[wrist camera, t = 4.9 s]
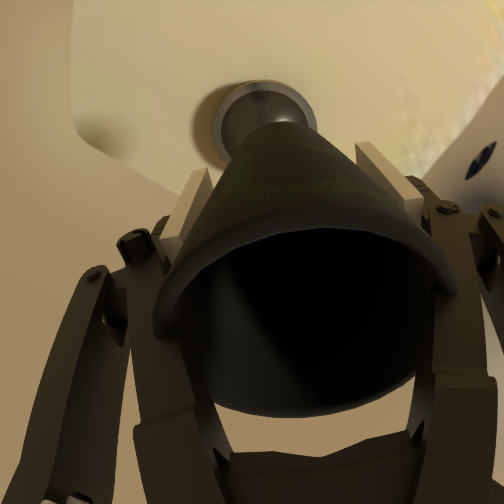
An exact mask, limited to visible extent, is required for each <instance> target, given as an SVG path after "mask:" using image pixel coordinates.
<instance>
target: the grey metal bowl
mask: <svg viewBox="0 0 504 504" xmlns="http://www.w3.org/2000/svg"><path fill="white" fill-rule="evenodd" d="M279 121H289V122H297V123H300V124H303V125H305V126H308V127H310V128H311V129H313V130H314V131H316V132H317V123H316V118H315V116H314V113H313V111H312V109H311V107H310V105H309V104H308V103H307V101H306V100H305V99H304V98H303V97H302V96H301V95H300V94H299V93H298V92H297V91H296V90H295V89H293V88H292V87H290V86H288V85H286V84H284V83H282V82H278V81H274V80H255V81H251V82H247V83H245V84H242V85H240V86H239V87H237V88H235V89H234V90H233V91H231V92H230V93H229V94H228V95H227V96H226V98H225V99H224V100H223V102H222V103H221V104H220V106H219V108H218V109H217V111H216V114H215V116H214V121H213V127H212V133H213V141H214V144H215V147H216V149H217V152H218V154H219V155H220V157H221V158H222V159H223V161H224V162H225V163H226V164H227V165H228V164H229V163H230V161H231V159H232V158H233V156H234V154H235V153H236V151H237V150H238V148H239V146H240V145H241V143H242V142H243V141H244V140H245V138H246V137H247V136H248V135H249V134H250V133H252V132H253V131H255V130H256V129H257V128H259V127H261V126H264V125H266V124H269V123H272V122H279Z"/></svg>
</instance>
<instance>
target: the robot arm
mask: <svg viewBox="0 0 504 504" xmlns="http://www.w3.org/2000/svg"><path fill="white" fill-rule="evenodd" d="M355 150H356V162H357V166H358V167H359V168H360V169H362V170H363V171H364V172H365V173H366V174H367V175H368V176H369V177H370V178H372V179H373V180H374V181H375V182H376V183H377V184H378V185H379V186H380V187H381V188H382V189H383V190H385V191H386V192H387V193H388V194H389V195H390V196H391V197H392V198H393V199H394V200H395V201H396V202H397V203H398V204H399V205H400V206H401V207H402V208H403V209H404V210H405V211H406V212H407V213H408V214H409V215H410V216H411V217H412V218H413V219H414V220H415V221H416V222H417V223H418V224H419V225H420V226H421V227H422V228H423V229H424V230H425V231H426V232H427V233H428V234H429V235H430V236H431V238H432V239H433V240H434V241H435V242H436V243H437V244H438V245H439V246H440V247H441V248H442V250H443V251H444V253H445V255H446V257H447V259H448V260H449V262H450V264H451V266H452V268H453V270H454V272H455V274H456V279H457V288H458V290H457V292H456V294H453V295H447V294H444V293H442V291H441V290H440V289H439V287H438V286H437V284H436V283H435V281H434V282H433V284H432V286H431V288H430V292H429V296H428V300H427V303H426V309H425V314H424V319H423V324H422V329H421V335H420V340H419V349H418V358H417V367H416V375H415V382H414V389H413V396H412V402H411V408H410V413H409V419H408V423H407V426H406V430H404V431H400V432H396V433H392V434H388V435H383V436H379V437H374V438H370V439H365V440H363V441H361V442H359V443H356V444H354V445H352V446H349V447H347V448H344V449H342V450H339V451H337V452H335V453H332V454H329V455H327V456H323V457H311V456H302V455H295V454H288V453H281V452H275V451H268V452H243V453H234V452H233V450H232V448H231V446H230V444H229V441H228V439H227V436H226V434H225V431H224V429H223V426H222V424H221V421H220V418H219V416H218V413H217V411H216V408H215V405H214V402H213V399H212V397H211V394H210V391H209V388H208V385H207V382H206V380H205V377H204V374H203V372H202V370H201V368H200V366H199V364H198V362H197V359H196V357H195V355H194V353H193V352H192V350H191V348H190V346H189V344H188V342H187V340H186V338H185V336H184V335H183V333H182V332H181V330H180V329H179V328H178V326H177V325H176V324H175V323H173V325H172V328H171V331H170V333H169V334H168V335H166V336H165V337H163V338H156V337H155V336H154V335H153V326H152V312H153V308H154V305H155V302H156V299H157V296H158V293H159V290H160V288H161V285H162V283H163V281H164V279H165V277H166V275H167V273H168V272H169V270H170V268H171V266H172V264H173V262H174V260H175V258H176V256H177V255H178V253H179V251H180V249H181V247H182V245H183V243H184V242H185V240H186V238H187V236H188V234H189V232H190V231H191V229H192V227H193V225H194V223H195V222H196V220H197V218H198V216H199V214H200V213H201V211H202V209H203V207H204V206H205V204H206V202H207V200H208V199H209V197H210V195H211V193H212V192H213V190H214V189H213V185H212V182H211V178H210V175H209V171H208V168H203V169H199V170H194V171H193V173H192V175H191V177H190V178H189V180H188V182H187V184H186V186H185V188H184V190H183V192H182V194H181V196H180V198H179V200H178V202H177V203H176V205H175V208H174V209H173V211H172V213H171V215H169V216H164V217H163V218H162V219H161V220H160V221H158V222H157V223H156V226H155V227H154V229H153V231H152V233H151V235H150V233H149V231H148V230H147V229H144V228H142V229H136V230H133V231H131V232H128V233H126V234H125V235H124V236H123V237H121V238H120V239H119V240H118V242H117V244H116V246H117V248H118V250H119V252H120V254H121V256H122V258H123V260H124V262H125V268H123V269H120V270H118V271H115V272H113V273H110V272H109V270H108V268H107V267H106V266H104V265H98V266H95V267H92V268H90V269H88V270H87V271H86V272H85V273H84V274H83V276H82V277H81V278H80V280H79V283H78V284H77V287H76V289H75V291H74V293H73V296H72V298H71V301H70V303H69V305H68V307H67V310H66V312H65V315H64V317H63V320H62V322H61V325H60V327H59V330H58V332H57V335H56V338H55V340H54V343H53V346H52V349H51V351H50V354H49V357H48V360H47V363H46V366H45V368H44V372H43V375H42V378H41V381H40V384H39V387H38V391H37V394H36V397H35V401H34V404H33V408H32V412H31V416H30V420H29V423H28V427H27V432H26V435H25V440H24V445H23V449H22V454H21V459H20V463H19V465H18V467H17V469H16V471H15V473H14V476H13V478H12V480H11V482H10V484H9V487H8V489H7V491H6V494H5V496H4V498H3V501H2V503H1V504H112V500H113V493H114V484H115V469H116V455H117V444H118V434H119V425H120V416H121V408H122V400H123V392H124V386H125V379H126V372H127V366H128V360H129V354H130V348H131V355H132V363H133V370H134V379H135V386H136V393H137V399H138V405H139V412H140V419H141V422H140V424H138V425H135V426H134V429H133V440H134V445H135V451H136V456H137V461H138V466H139V471H140V474H141V480H142V484H143V488H144V492H145V496H146V500H147V504H504V487H503V486H502V485H500V484H499V483H497V482H496V481H495V480H493V479H492V473H493V466H494V457H495V447H496V434H497V412H498V410H497V408H498V389H497V381H496V379H495V378H494V377H490V376H488V373H487V356H486V341H485V329H484V319H483V311H482V303H481V296H480V294H481V295H482V298H483V300H484V303H485V305H486V308H487V310H488V313H489V315H490V318H491V320H492V323H493V325H494V328H495V331H496V333H497V336H498V339H499V342H500V345H501V348H502V351H503V354H504V207H502V206H501V205H498V204H495V203H493V204H490V203H487V204H483V205H482V206H481V208H480V214H479V215H473V214H463V211H462V209H461V207H460V206H459V205H457V204H456V203H453V202H451V201H447V200H440V199H439V198H438V197H437V196H436V195H435V194H434V192H433V191H432V190H430V188H429V187H428V186H426V184H425V183H424V182H423V181H422V180H420V179H418V178H416V177H414V176H404V175H403V174H402V173H401V172H400V171H399V170H398V169H397V168H396V167H395V166H394V165H393V164H392V163H391V162H390V161H389V160H388V159H387V158H386V157H385V156H383V155H382V154H381V153H380V152H379V151H378V150H377V149H376V148H375V147H374V146H373V145H372V144H371V143H370V142H369V141H368V142H359V143H355ZM102 320H103V321H102Z"/></svg>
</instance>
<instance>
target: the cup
mask: <svg viewBox="0 0 504 504" xmlns="http://www.w3.org/2000/svg"><path fill="white" fill-rule="evenodd" d="M434 281H435V283H436V284H437V286H438V287H439V289H440V290H441V291H442V293H444V294H447V295H453V294H456V292H457V290H458V288H457V279H456V274H455V272H454V270H453V268H452V266H451V264H450V262H449V260H448V259H447V257H446V255H445V253H444V251H443V250H442V248H441V247H440V246H439V245H438V244H437V243H436V242H435V241H434V240H433V239H432V238H431V236H430V235H429V234H428V233H427V232H426V231H425V230H424V229H423V228H422V227H421V226H420V225H419V224H418V223H417V222H416V221H415V220H414V219H413V218H412V217H411V216H410V215H409V214H408V213H407V212H406V211H405V210H404V209H403V208H402V207H401V206H400V205H399V204H398V203H397V202H396V201H395V200H394V199H393V198H392V197H391V196H390V195H389V194H388V193H387V192H386V191H385V190H383V189H382V188H381V187H380V186H379V185H378V184H377V183H376V182H375V181H374V180H373V179H372V178H370V177H369V176H368V175H367V174H366V173H365V172H364V171H363V170H362V169H360V168H359V167H358V166H357V165H356V164H355V163H354V162H352V161H351V160H350V159H349V158H348V157H347V156H345V155H344V154H343V153H342V152H341V151H339V150H338V149H337V148H336V147H335V146H333V145H332V144H331V143H330V142H328V141H327V140H326V139H325V138H324V137H322V136H321V135H320V134H319V133H317V132H316V131H314V130H313V129H311V128H310V127H308V126H305V125H303V124H300V123H297V122H289V121H279V122H272V123H269V124H266V125H264V126H261V127H259V128H257V129H256V130H255V131H253V132H252V133H250V134H249V135H248V136H247V137H246V138H245V140H244V141H243V142H242V143H241V145H240V146H239V148H238V150H237V151H236V153H235V154H234V156H233V158H232V159H231V161H230V163H229V164H228V166H227V168H226V169H225V171H224V173H223V174H222V176H221V178H220V180H219V181H218V183H217V185H216V186H215V188H214V190H213V192H212V193H211V195H210V197H209V199H208V200H207V202H206V204H205V206H204V207H203V209H202V211H201V213H200V214H199V216H198V218H197V220H196V222H195V223H194V225H193V227H192V229H191V231H190V232H189V234H188V236H187V238H186V240H185V242H184V243H183V245H182V247H181V249H180V251H179V253H178V255H177V256H176V258H175V260H174V262H173V264H172V266H171V268H170V270H169V272H168V273H167V275H166V277H165V279H164V281H163V283H162V285H161V288H160V290H159V293H158V296H157V299H156V302H155V305H154V308H153V312H152V326H153V335H154V336H155V337H156V338H163V337H165V336H166V335H168V334H169V333H170V331H171V328H172V325H173V323H175V324H176V325H177V326H178V328H179V329H180V330H181V332H182V333H183V335H184V336H185V338H186V340H187V342H188V344H189V346H190V348H191V350H192V352H193V353H194V355H195V357H196V359H197V362H198V364H199V366H200V368H201V370H202V372H203V374H204V377H205V380H206V382H207V385H208V388H209V391H210V394H211V397H212V399H213V402H214V403H216V404H218V405H220V406H222V407H225V408H229V409H232V410H235V411H239V412H243V413H246V414H251V415H258V416H265V417H273V418H307V417H315V416H323V415H330V414H334V413H338V412H342V411H346V410H350V409H354V408H357V407H360V406H362V405H365V404H367V403H370V402H372V401H375V400H377V399H380V398H382V397H383V396H385V395H387V394H389V393H391V392H392V391H394V390H396V389H398V388H399V387H401V386H403V385H404V384H405V383H407V382H408V381H409V380H411V379H412V378H413V377H414V376H415V375H416V367H417V358H418V349H419V340H420V335H421V329H422V324H423V319H424V314H425V309H426V303H427V300H428V296H429V292H430V288H431V286H432V284H433V282H434Z"/></svg>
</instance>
